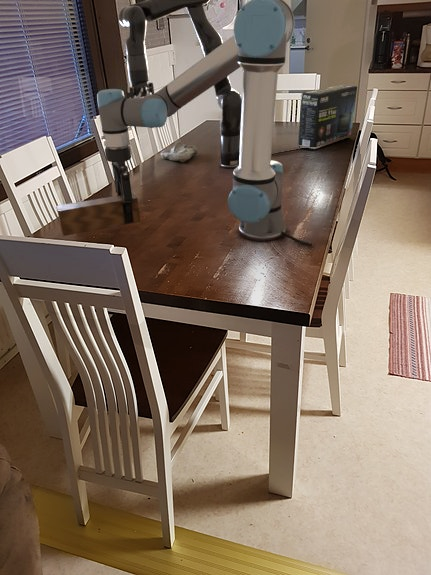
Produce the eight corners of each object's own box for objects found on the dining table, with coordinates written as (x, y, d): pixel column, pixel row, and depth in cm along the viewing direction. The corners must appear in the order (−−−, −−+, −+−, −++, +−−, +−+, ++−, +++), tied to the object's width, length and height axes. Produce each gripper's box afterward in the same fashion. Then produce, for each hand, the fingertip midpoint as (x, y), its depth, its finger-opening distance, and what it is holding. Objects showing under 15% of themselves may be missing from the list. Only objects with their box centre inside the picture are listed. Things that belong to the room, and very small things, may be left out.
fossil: (184, 156, 217) (163, 136, 220) (174, 174, 223) (154, 154, 227) (205, 153, 231) (186, 134, 234) (195, 171, 237) (176, 152, 240)
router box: (314, 151, 231) (318, 94, 217) (296, 148, 237) (299, 92, 224) (352, 138, 251) (358, 85, 238) (335, 135, 258) (340, 83, 245)
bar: (136, 216, 151) (133, 193, 147) (140, 221, 147) (137, 197, 143) (61, 230, 144) (56, 205, 139) (63, 236, 140) (58, 211, 135)
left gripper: (141, 65, 179) (146, 109, 188) (117, 70, 169) (123, 116, 177) (157, 66, 176) (161, 110, 184) (133, 70, 166) (139, 117, 174)
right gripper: (98, 141, 142) (109, 211, 154) (111, 155, 127) (122, 231, 139) (122, 138, 144) (131, 208, 156) (137, 151, 130) (146, 227, 142)
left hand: (142, 113), depth 181 cm, fingers open, 8 cm apart
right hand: (127, 219), depth 148 cm, fingers closed on bar, 5 cm apart
